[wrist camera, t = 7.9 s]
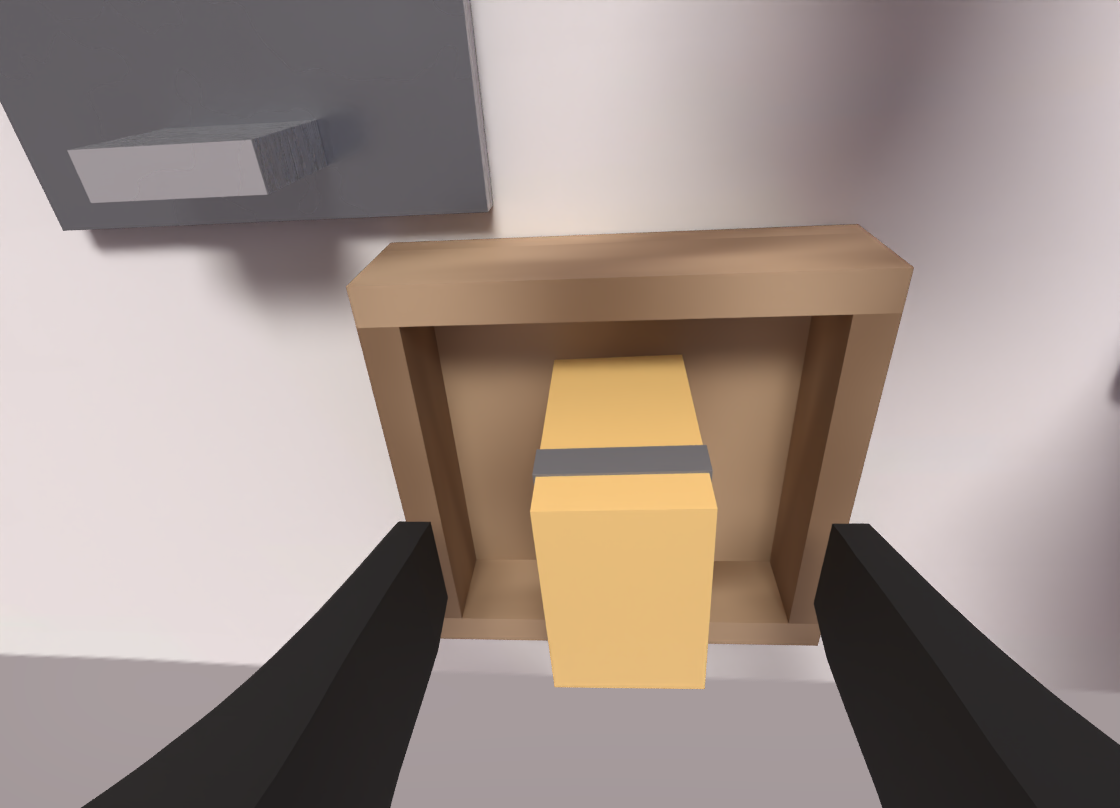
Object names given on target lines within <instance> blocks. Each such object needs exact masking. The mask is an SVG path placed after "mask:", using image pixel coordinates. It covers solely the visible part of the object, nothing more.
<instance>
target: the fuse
mask: <svg viewBox="0 0 1120 808" xmlns="http://www.w3.org/2000/svg"><path fill="white" fill-rule="evenodd" d="M712 474H713V470H712V465H711V461H710V457H709V453H708V449H707V445H703V443H702V439H701V435H700V430H699V426H698V422H697V417H696V413H695V409H694V404H693V400H692V396H691V391H690V387H689V382H688V378H687V374H686V369H685V365H684V361H683V356H682V355H659V356H635V357H611V358H587V359H563V360H554V365H553V372H552V378H551V384H550V390H549V397H548V403H547V409H546V415H545V422H544V428H543V434H542V440H541V446H540V449H537V450H536V455H535V461H534V467H533V473H532V476H533V484H534V490H533V496H532V503H531V509H530V515H531V522H532V530H533V537H534V544H535V551H536V558H537V565H538V572H539V579H540V586H541V593H542V601H543V608H544V615H545V622H546V629H547V636H548V643H549V650H550V657H551V665H552V672H553V679H554V686H555V687H582V688H583V687H584V688H585V687H586V688H663V689H665V688H666V689H667V688H668V689H705V677H706V663H707V649H708V635H709V621H710V607H711V593H712V580H713V566H714V552H715V538H716V524H717V510H718V508H717V504H716V500H715V495H714V491H713V487H712Z"/></svg>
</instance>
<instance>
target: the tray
mask: <svg viewBox="0 0 1120 808" xmlns="http://www.w3.org/2000/svg"><path fill="white" fill-rule="evenodd" d="M913 269H914V267H913V266H911V265H910V264H909V263H907V262H906V261H905V260H904V259H902V258H901V257H900V256H898V255H897V254H896V253H894V252H893V251H892V250H891V249H889V248H888V247H887V246H885V245H884V244H883V243H882V242H880V241H879V240H878V239H876V238H875V237H874V236H873V235H871V234H870V233H869V232H867V231H866V230H865V229H863V228H862V227H861V226H860V225H858V224H849V225H824V226H799V227H774V228H749V229H724V230H699V231H674V232H649V233H624V234H599V235H573V236H548V237H523V238H498V239H473V240H448V241H423V242H398V243H390V244H389V245H388V246H387V247H386V248H385V249H384V250H383V251H382V252H381V253H380V254H379V255H378V256H377V257H376V258H375V259H374V260H373V261H372V262H371V263H370V264H369V265H368V266H367V267H365V268H364V269H363V270H362V271H361V272H360V273H359V274H358V275H357V276H356V277H355V278H354V279H353V280H352V281H351V282H350V283H349V284H348V285H347V286H346V289H347V293H348V296H349V300H350V304H351V308H352V312H353V316H354V320H355V324H356V328H357V332H358V335H359V339H360V343H361V347H362V351H363V355H364V359H365V363H366V367H367V371H368V375H369V378H370V382H371V386H372V390H373V394H374V398H375V402H376V406H377V410H378V414H379V417H380V421H381V425H382V429H383V433H384V437H385V441H386V445H387V449H388V453H389V457H390V460H391V464H392V468H393V472H394V476H395V480H396V484H397V488H398V492H399V496H400V500H401V503H402V507H403V511H404V515H405V519H406V522H431V525H432V530H433V534H434V538H435V543H436V547H437V551H438V556H439V560H440V565H441V569H442V573H443V578H444V582H445V586H446V591H447V595H448V600H447V606H446V611H445V617H444V622H443V628H442V633H441V638H443V639H495V640H548V636H547V629H546V622H545V615H544V608H543V601H542V593H541V586H540V579H539V572H538V565H537V558H536V551H535V544H534V537H533V530H532V522H531V515H530V509H531V503H532V496H533V490H534V484H533V476H532V473H533V467H534V461H535V455H536V450H537V449H540V446H541V440H542V434H543V428H544V422H545V415H546V409H547V403H548V397H549V390H550V384H551V378H552V372H553V365H554V360H563V359H587V358H611V357H635V356H659V355H682V356H683V361H684V365H685V369H686V374H687V378H688V382H689V387H690V391H691V396H692V400H693V404H694V409H695V413H696V417H697V422H698V426H699V430H700V435H701V439H702V443H703V445H707V449H708V453H709V457H710V461H711V465H712V470H713V474H712V487H713V491H714V495H715V500H716V504H717V508H718V510H717V524H716V538H715V552H714V566H713V580H712V593H711V607H710V621H709V635H708V644H760V645H813V646H818V642H819V639H820V635H821V633H820V629H819V625H818V621H817V616H816V612H815V608H814V599H815V595H816V590H817V586H818V582H819V578H820V573H821V569H822V565H823V561H824V557H825V552H826V548H827V544H828V540H829V535H830V531H831V527H832V524H849V521H850V517H851V513H852V509H853V505H854V501H855V497H856V493H857V489H858V485H859V481H860V477H861V473H862V470H863V466H864V462H865V458H866V454H867V450H868V446H869V442H870V438H871V434H872V430H873V426H874V422H875V418H876V415H877V411H878V407H879V403H880V399H881V395H882V391H883V387H884V383H885V379H886V375H887V371H888V367H889V363H890V360H891V356H892V352H893V348H894V344H895V340H896V336H897V332H898V328H899V324H900V320H901V316H902V312H903V308H904V304H905V301H906V297H907V293H908V289H909V285H910V281H911V277H912V273H913Z"/></svg>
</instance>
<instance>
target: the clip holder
mask: <svg viewBox="0 0 1120 808" xmlns="http://www.w3.org/2000/svg"><path fill="white" fill-rule="evenodd" d="M0 102H1V104H2V106H3V108H4V110H5V112H6V114H7V116H8V118H9V120H10V122H11V124H12V126H13V129H14V131H15V133H16V135H17V137H18V139H19V141H20V143H21V145H22V147H23V149H24V151H25V153H26V155H27V157H28V159H29V161H30V163H31V165H32V168H33V170H34V172H35V174H36V176H37V178H38V180H39V182H40V184H41V186H42V188H43V190H44V192H45V194H46V196H47V198H48V200H49V202H50V204H51V206H52V209H53V211H54V213H55V215H56V217H57V219H58V221H59V223H60V225H61V227H62V229H63V231H66V230H89V229H112V228H135V227H158V226H180V225H203V224H226V223H249V222H271V221H294V220H317V219H340V218H362V217H385V216H408V215H431V214H454V213H476V212H488V211H489V210H490V208H491V207H492V205H493V199H492V191H491V182H490V173H489V164H488V156H487V147H486V138H485V129H484V121H483V112H482V103H481V94H480V86H479V77H478V68H477V59H476V51H475V42H474V33H473V24H472V16H471V7H470V0H0Z"/></svg>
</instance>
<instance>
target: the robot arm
mask: <svg viewBox="0 0 1120 808" xmlns="http://www.w3.org/2000/svg"><path fill="white" fill-rule="evenodd" d="M447 600H448V595H447V591H446V586H445V582H444V578H443V573H442V569H441V565H440V560H439V556H438V551H437V547H436V543H435V538H434V534H433V530H432V525H431V522H398V523H397V524H396V525H395V526H394V527H393V528H392V529H391V530H390V532H389V533H388V534H387V535H386V536H385V537H384V538H383V539H382V541H381V542H380V543H379V544H378V545H377V546H376V547H375V549H374V550H373V551H372V552H371V553H370V554H369V555H368V557H367V558H366V559H365V560H364V561H363V562H362V563H361V565H360V566H359V567H358V568H357V569H356V570H355V571H354V572H353V574H352V575H351V576H350V577H349V578H348V579H347V580H346V581H345V582H344V584H343V585H342V586H341V587H340V588H339V589H338V590H337V591H336V592H335V593H334V594H333V595H332V597H331V598H330V599H329V600H328V601H327V602H326V603H325V604H324V605H323V606H322V607H321V608H320V610H319V611H318V612H317V613H316V614H315V615H314V616H313V617H312V618H311V619H310V620H309V621H308V622H307V623H306V624H305V625H304V626H303V627H302V628H301V629H300V630H299V631H298V632H297V633H296V634H295V635H294V636H293V637H292V638H291V639H290V640H289V641H288V642H287V643H286V644H285V645H284V646H283V647H282V648H281V649H280V650H279V651H278V652H277V653H276V654H275V655H274V656H273V657H272V658H271V659H269V660H268V661H267V662H266V663H265V664H264V665H263V666H262V667H261V668H260V669H259V670H258V671H257V672H255V674H253V675H252V676H251V677H250V678H249V679H248V680H247V681H246V682H244V683H243V684H242V685H241V686H240V687H239V688H238V689H236V690H235V691H234V692H233V693H232V694H231V695H230V696H228V697H227V698H226V699H225V700H224V701H223V702H222V703H220V704H219V705H218V706H217V707H216V708H214V709H213V710H212V711H211V712H210V713H208V714H207V715H206V716H204V717H203V718H202V719H201V720H199V721H198V722H197V723H196V724H194V725H193V726H192V727H190V728H189V729H188V730H187V731H186V732H184V733H183V734H181V735H180V736H179V737H178V738H176V739H175V740H174V741H172V742H171V743H170V744H169V745H167V746H166V747H165V748H164V749H162V750H161V751H160V752H158V753H157V754H156V755H154V756H153V757H152V758H151V759H149V760H148V761H147V762H145V763H144V764H143V765H141V766H140V767H139V768H137V769H136V770H134V771H133V772H132V773H130V774H129V775H127V776H126V777H125V778H123V779H122V780H120V781H119V782H118V783H116V784H115V785H113V786H112V787H110V788H109V789H108V790H106V791H105V792H103V793H102V794H100V795H99V796H98V797H96V798H95V799H93V800H92V801H90V802H89V803H87V804H86V805H84V806H83V807H81V808H390V806H391V802H392V798H393V795H394V791H395V787H396V784H397V780H398V776H399V773H400V769H401V766H402V763H403V760H404V757H405V754H406V751H407V747H408V744H409V741H410V738H411V735H412V732H413V729H414V725H415V722H416V719H417V716H418V713H419V709H420V706H421V703H422V700H423V697H424V694H425V691H426V688H427V684H428V681H429V678H430V675H431V671H432V668H433V665H434V662H435V658H436V655H437V652H438V648H439V643H440V638H441V633H442V628H443V622H444V617H445V611H446V606H447ZM814 608H815V612H816V616H817V621H818V625H819V629H820V633H821V637H822V641H823V645H824V649H825V653H826V657H827V660H828V663H829V666H830V669H831V671H832V674H833V677H834V680H835V682H836V685H837V687H838V690H839V693H840V696H841V698H842V701H843V703H844V706H845V709H846V712H847V714H848V717H849V719H850V722H851V725H852V727H853V730H854V733H855V735H856V738H857V741H858V743H859V746H860V748H861V751H862V754H863V756H864V759H865V761H866V764H867V767H868V769H869V772H870V775H871V777H872V780H873V783H874V785H875V788H876V791H877V793H878V796H879V799H880V802H881V805H882V808H1120V745H1119V744H1117V743H1116V742H1115V741H1114V740H1112V739H1111V738H1110V737H1108V736H1107V735H1106V734H1104V733H1103V732H1102V731H1101V730H1099V729H1098V728H1097V727H1095V726H1094V725H1093V724H1091V723H1090V722H1089V721H1087V720H1086V719H1085V718H1084V717H1082V716H1081V715H1080V714H1078V713H1077V712H1076V711H1074V710H1073V709H1072V708H1070V707H1069V706H1068V705H1066V704H1065V703H1064V702H1063V701H1062V700H1060V699H1059V698H1058V697H1057V696H1055V695H1054V694H1053V693H1052V692H1050V691H1049V690H1048V689H1047V688H1045V687H1044V686H1043V685H1042V684H1041V683H1039V682H1038V681H1037V680H1036V679H1035V678H1033V677H1032V676H1031V675H1030V674H1029V673H1028V672H1026V671H1025V670H1024V669H1023V668H1022V667H1021V666H1019V665H1018V664H1017V663H1016V662H1015V661H1013V660H1012V659H1011V658H1010V657H1009V656H1008V655H1006V654H1005V653H1004V652H1003V651H1002V650H1001V649H999V648H998V647H997V646H996V645H995V644H994V643H993V642H992V641H990V640H989V639H988V638H987V637H986V636H985V635H984V634H983V633H981V632H980V631H979V630H978V629H977V628H976V627H975V626H974V625H973V624H972V623H971V622H969V621H968V620H967V619H966V618H965V617H964V616H963V615H962V614H961V613H960V612H959V611H958V610H957V609H956V608H954V607H953V606H952V605H951V604H950V603H949V602H948V601H947V600H946V599H945V598H944V597H943V596H942V595H941V594H940V593H939V592H938V591H937V590H936V589H934V588H933V587H932V586H931V585H930V584H929V583H928V582H927V581H926V580H925V579H924V578H923V577H922V576H921V575H920V574H919V573H918V572H917V571H916V570H915V569H914V568H913V567H912V566H911V565H910V564H909V563H908V562H907V561H906V560H905V559H904V558H903V557H902V556H901V555H900V554H899V553H898V552H897V551H896V550H895V549H894V548H893V547H892V546H891V545H890V544H889V543H888V542H887V541H886V540H885V539H884V538H883V537H882V536H881V535H880V534H879V533H878V532H877V531H876V530H875V529H874V528H873V527H872V526H871V525H870V524H832V527H831V531H830V535H829V540H828V544H827V548H826V552H825V557H824V561H823V565H822V569H821V573H820V578H819V582H818V586H817V590H816V595H815V599H814Z"/></svg>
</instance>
